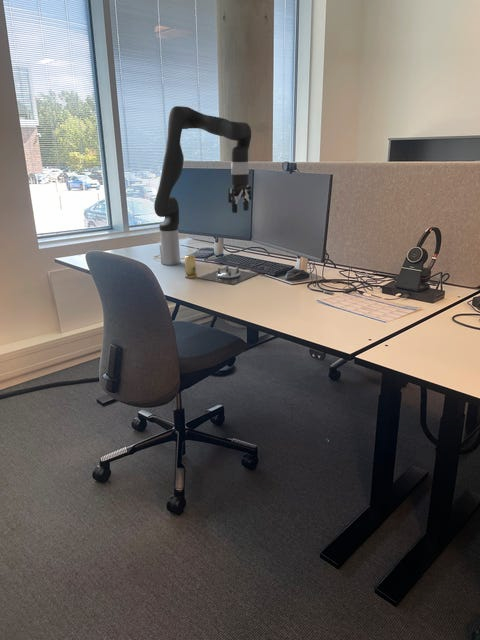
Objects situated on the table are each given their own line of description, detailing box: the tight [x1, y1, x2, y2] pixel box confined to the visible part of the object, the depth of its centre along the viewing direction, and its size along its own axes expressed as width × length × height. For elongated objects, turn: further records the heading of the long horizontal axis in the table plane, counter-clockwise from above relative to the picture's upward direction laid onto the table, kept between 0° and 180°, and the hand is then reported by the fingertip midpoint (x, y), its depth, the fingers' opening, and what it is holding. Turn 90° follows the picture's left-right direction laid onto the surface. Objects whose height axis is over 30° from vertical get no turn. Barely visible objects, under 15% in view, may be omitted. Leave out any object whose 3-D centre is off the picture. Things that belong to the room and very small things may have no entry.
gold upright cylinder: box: [184, 254, 198, 280], centre depth 207 cm, size 5×5×10 cm
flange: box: [197, 264, 260, 286], centre depth 208 cm, size 20×20×4 cm
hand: (240, 211), depth 200 cm, fingers open, 8 cm apart
